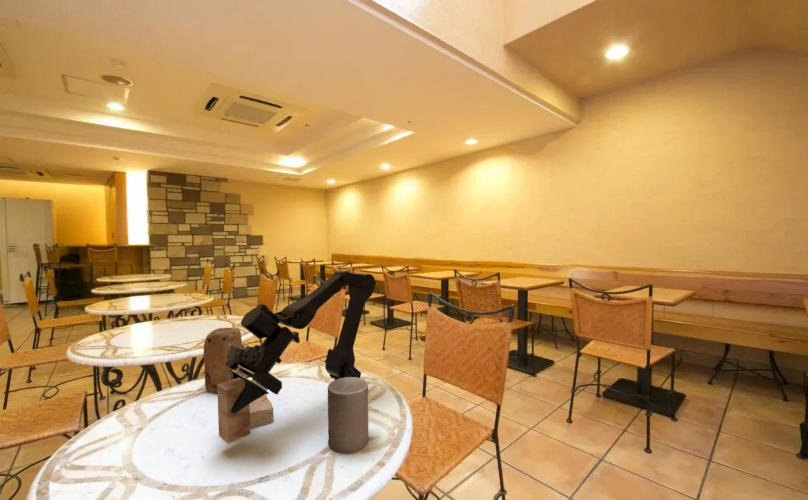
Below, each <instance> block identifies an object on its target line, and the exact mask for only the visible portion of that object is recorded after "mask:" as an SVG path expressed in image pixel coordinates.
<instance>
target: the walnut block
mask: <svg viewBox="0 0 808 500" xmlns="http://www.w3.org/2000/svg"><path fill="white" fill-rule="evenodd" d="M244 388H245V380H243V379H241V378H236V379H233V380H230V381H227V382H224V383H220V384H217V415H218V416H217V418H218V419H217V420H218V423H217V424H218V437H219V438H220V439H222V440H223V441H224V442H225V443H226V444H228V445H229V444H231V443H233V442H235V441H238V440H240V439H242V438H244V437H247V436H249V435H251V429H250V404H248V405H247V406H245V407H244V408H242V409H241V410H239V411H238V412H236V413H232V412H231V410H232V408H233V406H234V404H235V402H236V401H237V399H238V398H239V396H240V394H241V393H242V391H243V390H244Z"/></svg>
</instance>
